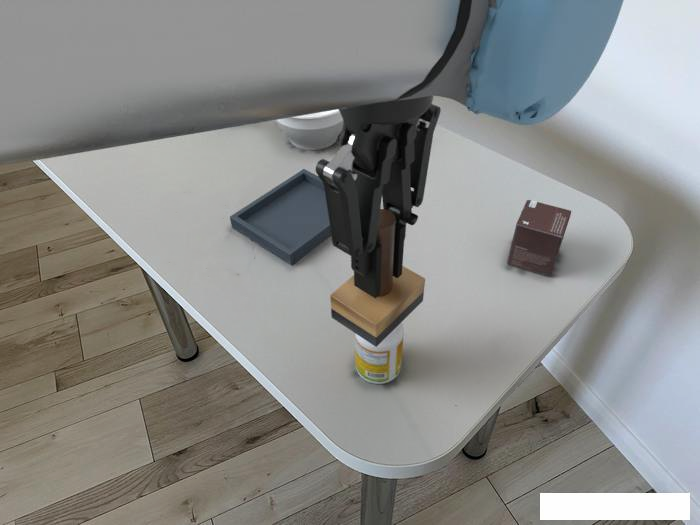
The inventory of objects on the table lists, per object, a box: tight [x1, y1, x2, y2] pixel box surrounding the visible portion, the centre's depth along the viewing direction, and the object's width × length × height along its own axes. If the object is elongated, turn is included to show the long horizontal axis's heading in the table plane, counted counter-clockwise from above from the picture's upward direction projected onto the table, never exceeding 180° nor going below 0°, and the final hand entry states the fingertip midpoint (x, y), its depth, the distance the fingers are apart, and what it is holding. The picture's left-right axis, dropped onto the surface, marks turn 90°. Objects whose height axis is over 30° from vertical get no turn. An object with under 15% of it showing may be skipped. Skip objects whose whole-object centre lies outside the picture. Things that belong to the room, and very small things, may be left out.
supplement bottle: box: [354, 321, 405, 385], centre depth 64 cm, size 5×5×10 cm
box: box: [506, 199, 572, 277], centre depth 77 cm, size 6×6×7 cm
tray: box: [229, 168, 332, 266], centre depth 86 cm, size 16×13×2 cm
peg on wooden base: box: [329, 208, 426, 347], centre depth 56 cm, size 8×6×12 cm
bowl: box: [274, 109, 343, 151], centre depth 100 cm, size 16×16×9 cm
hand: (378, 279), depth 57 cm, fingers closed on peg on wooden base, 3 cm apart
